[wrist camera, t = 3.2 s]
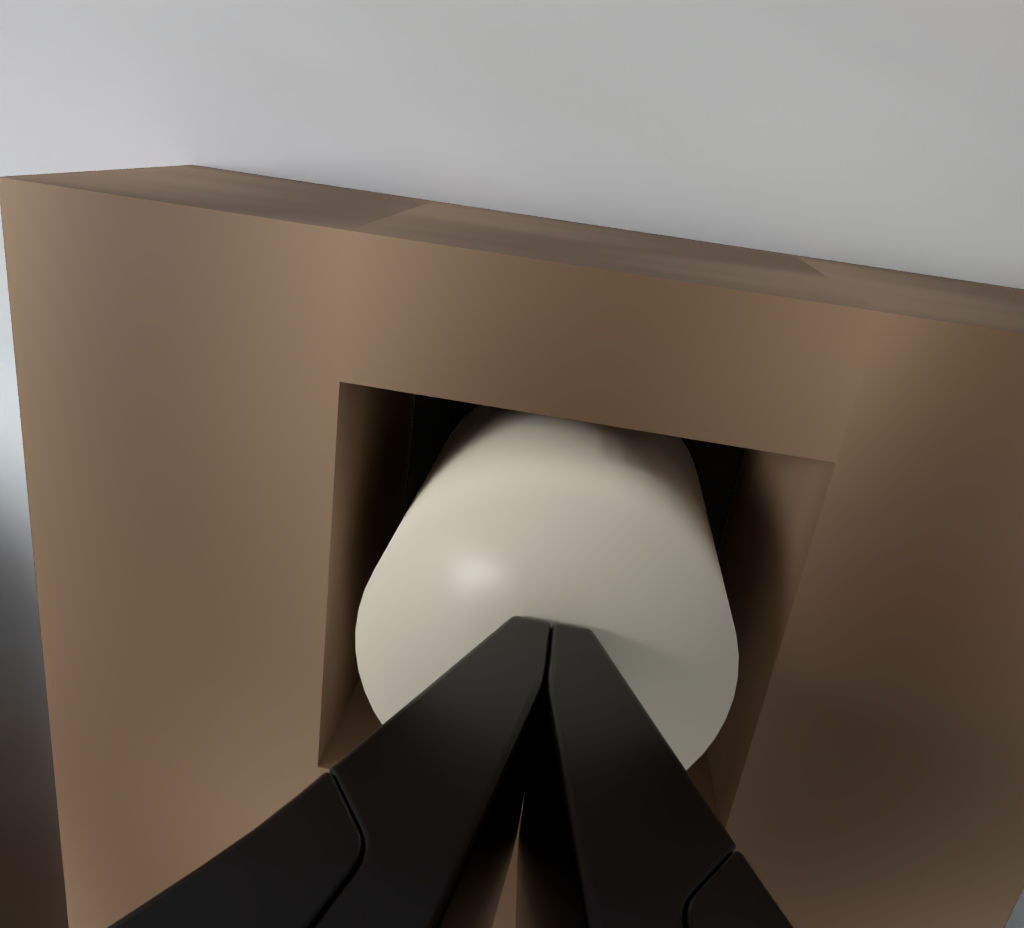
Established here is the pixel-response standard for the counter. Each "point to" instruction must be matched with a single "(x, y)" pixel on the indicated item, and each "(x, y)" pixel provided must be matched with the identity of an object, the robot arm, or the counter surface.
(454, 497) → the button
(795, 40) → the counter surface
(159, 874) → the board
